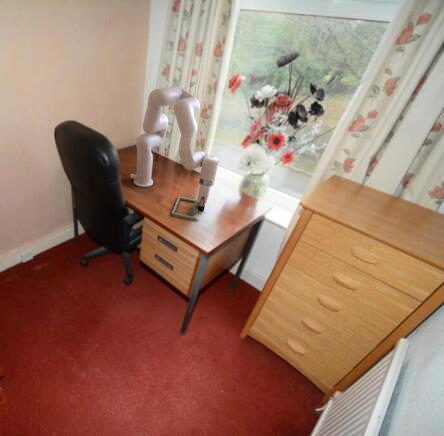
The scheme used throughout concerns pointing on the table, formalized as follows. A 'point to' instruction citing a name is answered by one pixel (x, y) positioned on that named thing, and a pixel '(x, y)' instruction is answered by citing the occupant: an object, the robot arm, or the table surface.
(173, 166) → the table surface
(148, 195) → the table surface
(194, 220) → the frame
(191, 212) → the grey elongated block
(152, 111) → the robot arm
